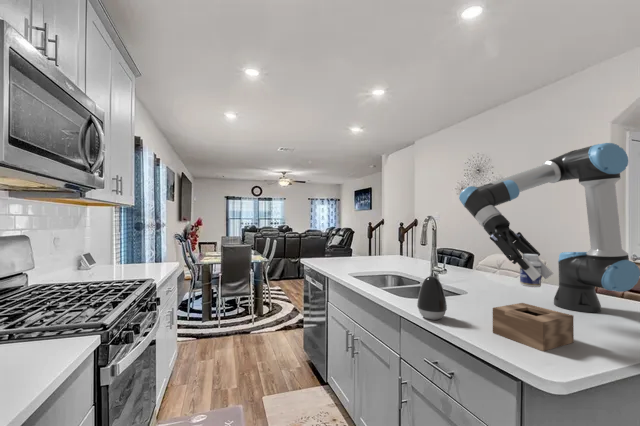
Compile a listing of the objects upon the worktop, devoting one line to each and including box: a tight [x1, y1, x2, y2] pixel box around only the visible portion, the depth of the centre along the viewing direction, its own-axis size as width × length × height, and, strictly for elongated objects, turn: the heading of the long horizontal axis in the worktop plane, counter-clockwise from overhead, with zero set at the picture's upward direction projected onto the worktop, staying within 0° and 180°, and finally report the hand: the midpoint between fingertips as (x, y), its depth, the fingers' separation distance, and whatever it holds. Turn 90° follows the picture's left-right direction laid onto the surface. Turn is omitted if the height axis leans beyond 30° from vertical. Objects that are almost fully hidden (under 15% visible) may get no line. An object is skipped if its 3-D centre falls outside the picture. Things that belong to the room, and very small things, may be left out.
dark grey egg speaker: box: [416, 275, 448, 321], centre depth 114 cm, size 10×10×15 cm
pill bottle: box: [519, 254, 542, 288], centre depth 96 cm, size 5×5×10 cm
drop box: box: [492, 302, 575, 352], centre depth 96 cm, size 15×15×8 cm
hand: (543, 277), depth 93 cm, fingers closed on pill bottle, 5 cm apart
